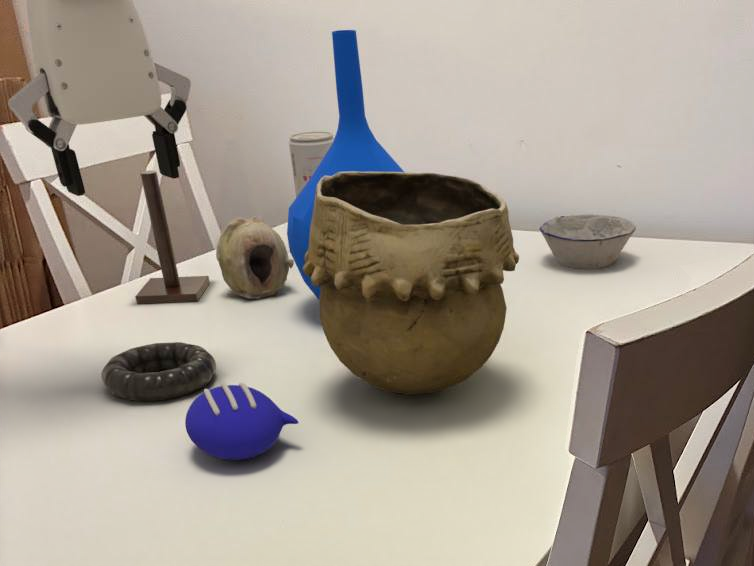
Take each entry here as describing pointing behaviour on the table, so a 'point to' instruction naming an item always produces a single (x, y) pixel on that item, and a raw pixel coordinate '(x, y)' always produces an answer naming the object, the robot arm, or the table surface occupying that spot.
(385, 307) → the clay pot
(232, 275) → the beige rounded lump
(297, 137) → the beverage can
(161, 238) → the brown upright peg
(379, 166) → the vase
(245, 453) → the decorative object
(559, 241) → the bowl
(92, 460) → the table surface
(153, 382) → the ring
